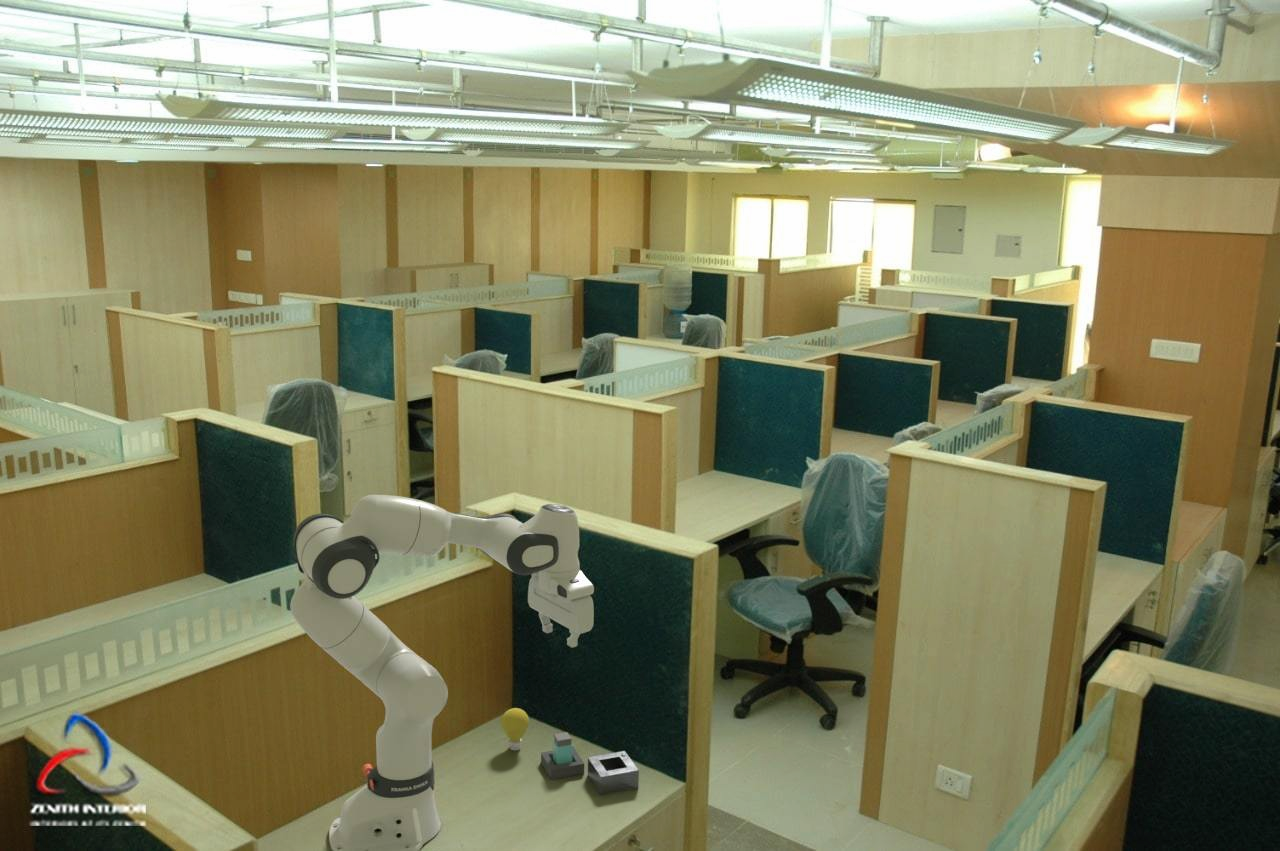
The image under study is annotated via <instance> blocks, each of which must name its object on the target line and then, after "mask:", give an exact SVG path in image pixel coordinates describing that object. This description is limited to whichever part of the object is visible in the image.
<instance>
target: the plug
mask: <svg viewBox="0 0 1280 851" xmlns="http://www.w3.org/2000/svg"><path fill="white" fill-rule="evenodd" d="M572 747H573V743H572V737H571V736H570V734H569V732H568V731H567V732H566V731H565V732H561V733H559V732H558V733H554V735H553V740H552V751H553V763H554V765H560V764H566V763H572Z"/></svg>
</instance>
